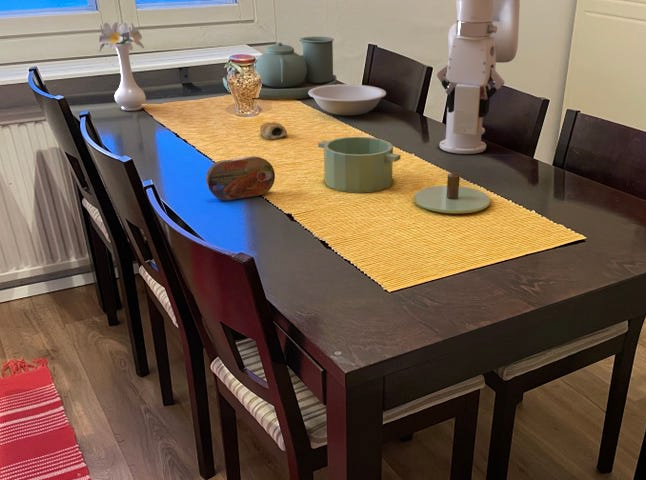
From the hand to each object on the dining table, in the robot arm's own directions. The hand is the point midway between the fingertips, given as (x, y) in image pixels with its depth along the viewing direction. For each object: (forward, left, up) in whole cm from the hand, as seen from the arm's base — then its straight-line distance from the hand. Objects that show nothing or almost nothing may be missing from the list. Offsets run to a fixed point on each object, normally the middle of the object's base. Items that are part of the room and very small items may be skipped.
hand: (467, 113), depth 169 cm
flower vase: (-7, -119, -16) cm, 120 cm away
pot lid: (+16, +5, -15) cm, 23 cm away
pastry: (-6, -62, -16) cm, 64 cm away
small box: (0, 0, -4) cm, 4 cm away
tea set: (-58, -99, -16) cm, 115 cm away
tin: (+38, -36, -16) cm, 55 cm away
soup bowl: (-40, -59, -16) cm, 73 cm away
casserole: (+15, -20, -15) cm, 29 cm away
